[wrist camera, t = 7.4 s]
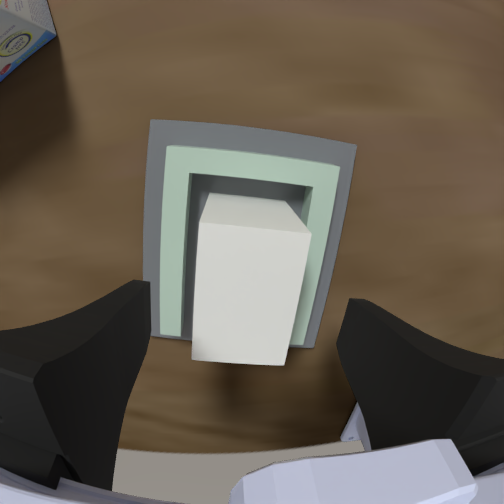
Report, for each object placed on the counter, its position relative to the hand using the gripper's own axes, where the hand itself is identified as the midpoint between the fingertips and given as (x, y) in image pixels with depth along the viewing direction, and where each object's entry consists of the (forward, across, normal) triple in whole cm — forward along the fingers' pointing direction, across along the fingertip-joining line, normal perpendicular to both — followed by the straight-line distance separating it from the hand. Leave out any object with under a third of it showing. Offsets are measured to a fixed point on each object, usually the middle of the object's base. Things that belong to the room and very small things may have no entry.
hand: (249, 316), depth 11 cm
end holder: (+8, 0, 0) cm, 8 cm away
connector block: (+7, 0, 0) cm, 7 cm away
